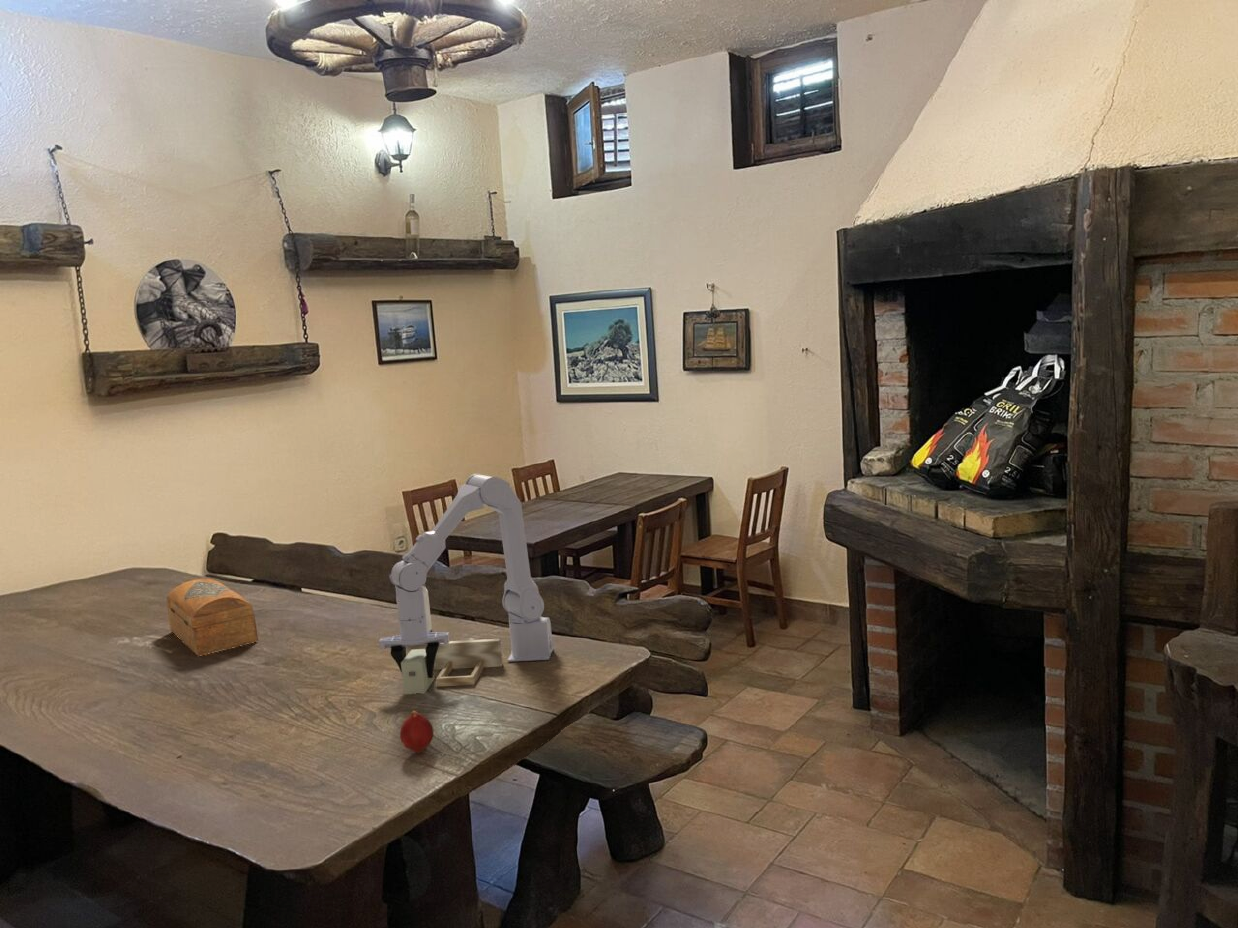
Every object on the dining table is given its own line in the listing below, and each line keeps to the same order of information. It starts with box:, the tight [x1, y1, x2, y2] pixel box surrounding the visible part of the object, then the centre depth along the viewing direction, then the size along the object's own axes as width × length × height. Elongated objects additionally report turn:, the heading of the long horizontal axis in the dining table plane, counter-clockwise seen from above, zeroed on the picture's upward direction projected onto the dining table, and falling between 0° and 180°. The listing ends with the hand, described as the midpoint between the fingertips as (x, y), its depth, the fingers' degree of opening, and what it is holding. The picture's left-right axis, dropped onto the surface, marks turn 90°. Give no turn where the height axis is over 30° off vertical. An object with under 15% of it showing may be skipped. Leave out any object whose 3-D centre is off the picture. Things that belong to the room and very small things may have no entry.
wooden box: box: [166, 578, 259, 657], centre depth 241 cm, size 30×16×14 cm, turn 37°
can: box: [422, 584, 433, 632], centre depth 232 cm, size 6×6×12 cm
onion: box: [399, 710, 434, 754], centre depth 162 cm, size 6×6×8 cm
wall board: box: [434, 638, 503, 687], centre depth 199 cm, size 16×12×6 cm
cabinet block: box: [401, 648, 435, 695], centre depth 194 cm, size 4×8×7 cm, turn 177°
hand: (418, 677), depth 194 cm, fingers closed on cabinet block, 5 cm apart
